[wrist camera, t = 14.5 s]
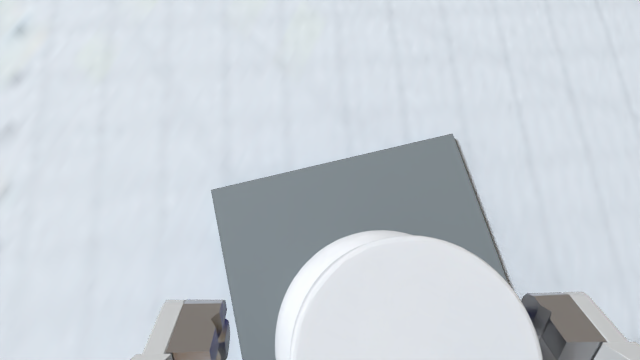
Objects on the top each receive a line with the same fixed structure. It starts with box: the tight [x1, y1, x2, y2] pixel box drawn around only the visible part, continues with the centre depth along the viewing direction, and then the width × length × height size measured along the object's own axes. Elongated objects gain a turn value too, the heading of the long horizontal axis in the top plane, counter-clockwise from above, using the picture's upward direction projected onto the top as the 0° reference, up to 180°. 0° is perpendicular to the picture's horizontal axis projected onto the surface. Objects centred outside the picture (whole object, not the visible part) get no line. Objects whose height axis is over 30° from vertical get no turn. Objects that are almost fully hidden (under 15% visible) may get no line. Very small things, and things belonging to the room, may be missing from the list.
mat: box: [211, 134, 508, 360], centre depth 17 cm, size 14×12×1 cm
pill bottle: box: [275, 230, 543, 360], centre depth 12 cm, size 6×6×10 cm
